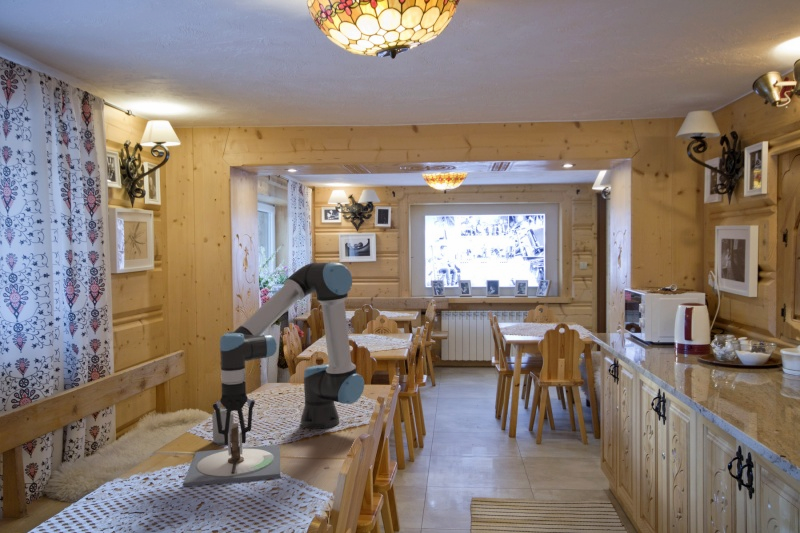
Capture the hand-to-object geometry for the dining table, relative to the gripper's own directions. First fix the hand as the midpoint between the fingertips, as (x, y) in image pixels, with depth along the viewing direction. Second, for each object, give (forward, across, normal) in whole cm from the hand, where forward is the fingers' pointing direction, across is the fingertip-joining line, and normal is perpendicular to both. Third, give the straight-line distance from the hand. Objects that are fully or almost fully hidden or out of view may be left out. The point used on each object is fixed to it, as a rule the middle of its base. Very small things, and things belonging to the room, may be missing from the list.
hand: (235, 453), depth 195 cm
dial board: (+4, 0, 0) cm, 4 cm away
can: (+4, +6, -27) cm, 28 cm away
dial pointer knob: (+2, 0, +5) cm, 5 cm away
